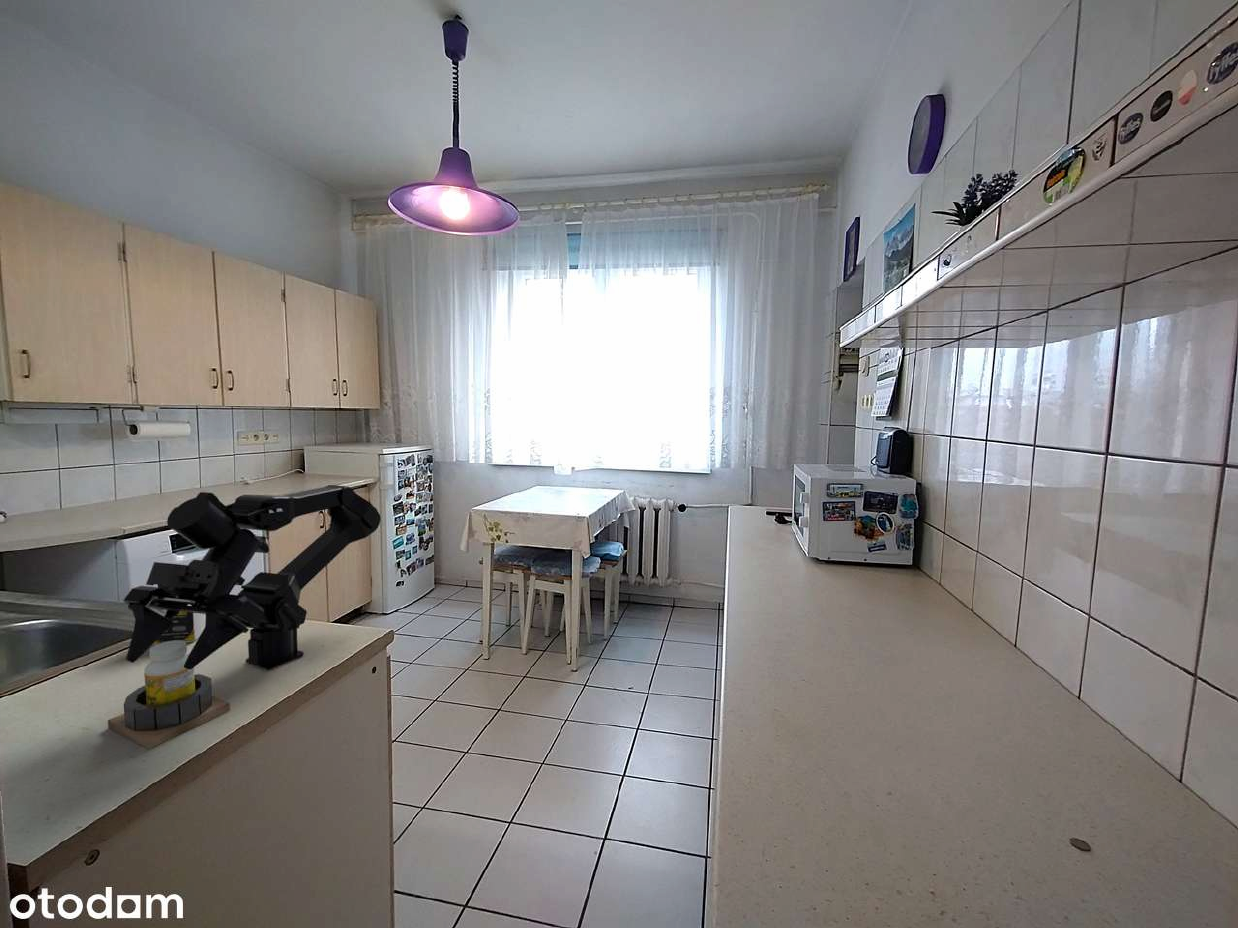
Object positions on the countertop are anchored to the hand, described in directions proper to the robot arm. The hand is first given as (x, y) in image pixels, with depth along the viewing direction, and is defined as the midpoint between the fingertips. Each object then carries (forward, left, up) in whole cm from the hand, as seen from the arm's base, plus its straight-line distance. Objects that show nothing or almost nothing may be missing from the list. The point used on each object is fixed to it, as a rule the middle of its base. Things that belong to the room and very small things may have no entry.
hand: (157, 664), depth 74 cm
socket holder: (-1, 0, -9) cm, 9 cm away
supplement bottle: (-2, 0, -8) cm, 8 cm away
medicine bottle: (-17, -29, -9) cm, 35 cm away
